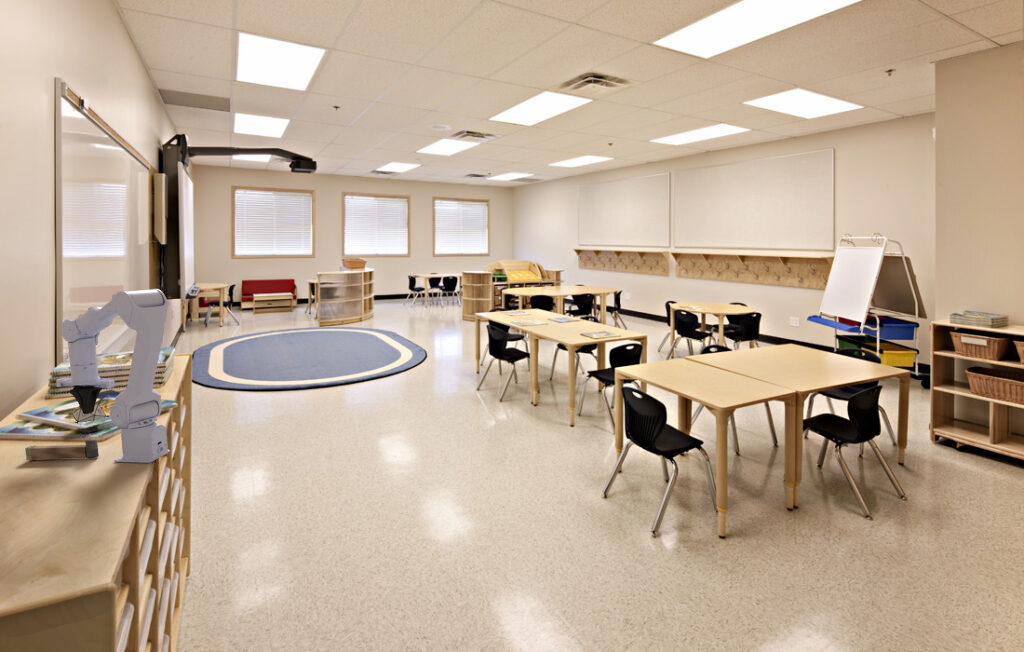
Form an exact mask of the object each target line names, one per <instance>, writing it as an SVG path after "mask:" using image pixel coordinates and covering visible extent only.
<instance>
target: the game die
mask: <svg viewBox="0 0 1024 652" xmlns="http://www.w3.org/2000/svg"><path fill="white" fill-rule="evenodd" d="M101 403H102V402H101V401H98V402H97V403H95V408H94V412H92V413H89V414H83V412H82V410H81V408H80V405H79V404H78V408H77V409H76V410H75V411H74V412H70V413H68V415H69V416H72V417H73V418H74V420H75V422H74V423H77V424H78V422H87V421H95V420H99V419H102V418H104V419H105V418H111V417H110V415H106V413H105V412H104V410H103V406H101ZM76 421H77V422H76Z"/></svg>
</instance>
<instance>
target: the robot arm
mask: <svg viewBox="0 0 1024 652" xmlns="http://www.w3.org/2000/svg"><path fill="white" fill-rule="evenodd" d="M167 299H168V298H167V297H166V295H165V294H164V292H163V291H162V290H160V289H159V288H152V289H143V290H139V289H138V290H131V291H130V290H129V291H128V290H127V291H125V290H120V291H118V292H116V293H114V294H112V297H111V299H110V300H109V301H108V302H107V303H106V304H104V305H103V306H102V307H100V306H90V307H88V308H87V310H88V311H86V312H84V313H80V314H78V316H77V317H76V318H75V319H64V321H62V323H61V326H60V333H61V336H62V338H63V339H64V341H66V342H67V346H68V347H67V348H68V349H67V350H68V356H69V368H70V369H69V370H70V377H61V378H58V379H56V380H55V382H56V387H57V388H58V387H59V388H60V387H61V388H62V387H73V388H71V389H69V393H70V394H71V395H72V396H73V398H74V399H75V400H76V402H77V404H78V406H79V405H80V407H79V408H81V410H82V412H83V414H89V413H92V412H94V408H95V403H96V402H97V399H98V397H99V395H100V394H101V391H102V389H103V388H105V389H111V388H114V387H116V383H115V379H111V378H105V377H104V378H103V377H101V376H99V368H98V367H99V366H98V357H97V355H98V354H97V347H96V346H97V345H98V343H99V338H100V337H99V336H100V335H101V334H100V333H101V332H102V331H103V330H106V329H107V328H109V327H110V326H111V325H112V323H113V321H114V319H115V318H117V317H120V319H121V320H122V321H123V323H125V324H126V326H127V327H128V328H129V329H132V330H134V331H136V337H135V341H134V347H133V352H132V358H131V364H130V370H129V374H128V380H127V384H126V388H125V389H124V390H122V391H121V392H120V393H119V394H118V395H116V396H115V400H114V403H113V404H112V405H111V407H110V410H109V416H110V417H109V418H110V420H111V421H112V423H113V424H114V425H115V426H116V427H117V428H120V436H121V449H122V455H121V456H119V457H117V458H115V459H113V460H114V462H115V463H138V464H139V463H141V464H149V463H152V462H154V461H156V460H158V459H159V458H161V457H163V456H164V455H165V456H166V454H168V453H170V452H171V450H170V449H169V446H168V435H167V433H168V432H167V429H166V427H165V425H163V424H159V423H157V422H158V417H159V416H160V415H161V412H162V403H161V399H162V395H161V394H160V393H159V392H158V391H157V390H156V389H154V388H153V387H154V383H155V377H156V373H157V367H158V362H159V357H160V351H161V346H162V342H163V336H164V334H165V324H166V319H167V315H168V310H169V306H170V303H169V301H168V300H167Z"/></svg>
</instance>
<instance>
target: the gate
mask: <svg viewBox="0 0 1024 652" xmlns="http://www.w3.org/2000/svg"><path fill="white" fill-rule="evenodd" d="M84 442H85V444H69V445H65V444H63V445H62V444H61V445H28V446H27V447H25V448H24V449H25V450H24V451H25V458H26V459H25V460H26V461H33V460H34V461H37V460H70V459H71V460H72V459H73V460H74V459H75V460H76V459H89V460H92V459H97V458H98V457H99V444H98V438H95V437H92V438H87V439H85V441H84Z"/></svg>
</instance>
